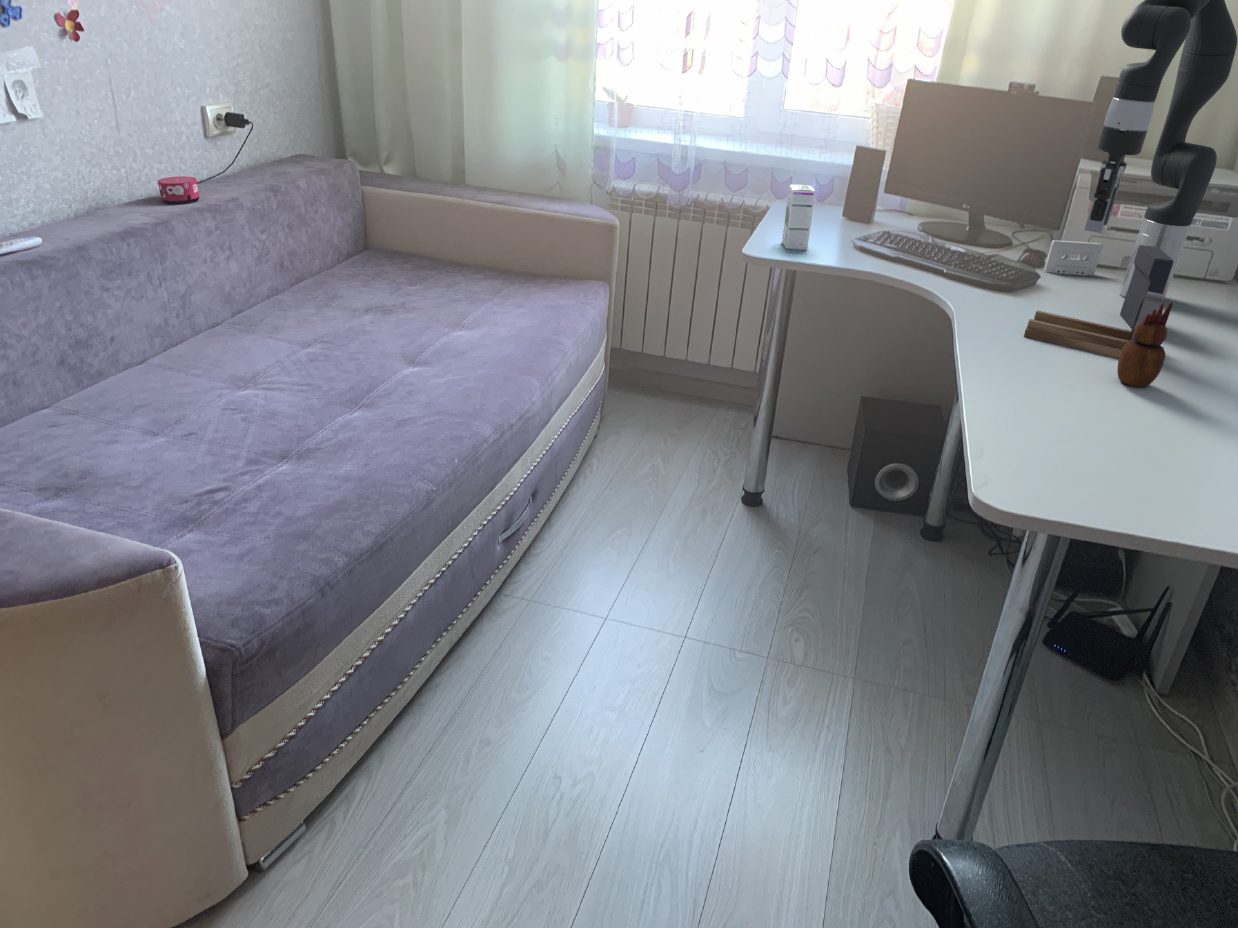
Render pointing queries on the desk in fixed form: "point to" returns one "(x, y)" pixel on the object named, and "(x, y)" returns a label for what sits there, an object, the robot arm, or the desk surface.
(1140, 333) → the wooden figurine
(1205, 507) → the desk surface
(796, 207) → the syrup box
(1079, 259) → the cassette
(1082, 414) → the desk surface
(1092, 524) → the desk surface
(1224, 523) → the desk surface
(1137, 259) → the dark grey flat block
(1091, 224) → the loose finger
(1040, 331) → the rail
